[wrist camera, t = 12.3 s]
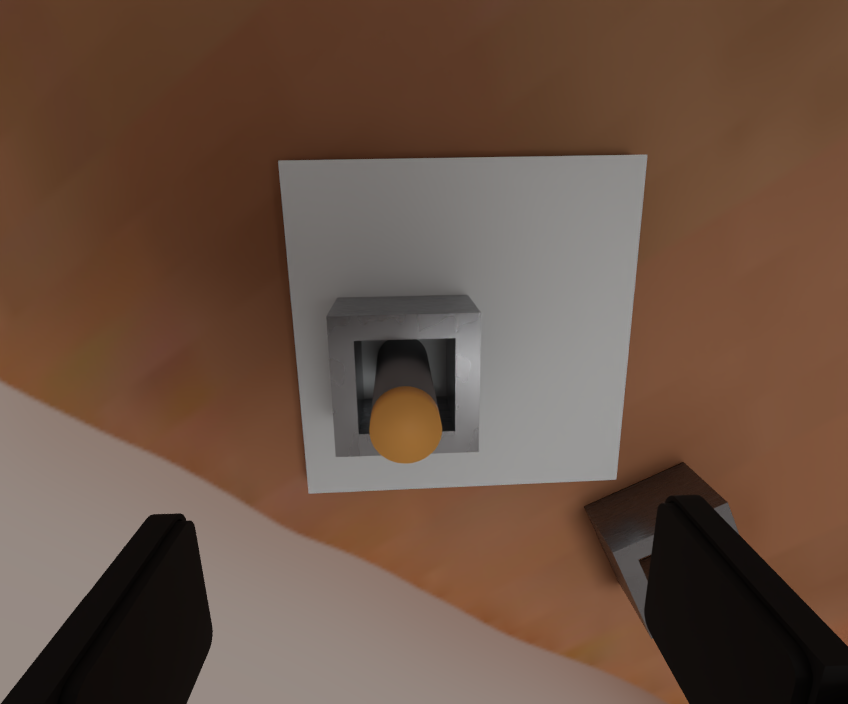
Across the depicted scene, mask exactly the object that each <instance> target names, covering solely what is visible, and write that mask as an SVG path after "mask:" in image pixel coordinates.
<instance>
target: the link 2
mask: <svg viewBox="0 0 848 704" xmlns="http://www.w3.org/2000/svg"><path fill="white" fill-rule="evenodd" d="M672 495H700V496H701V497H703V498H704V499H705V500H706V501H707V502H708V503H709V504H710V505H711V506H712V507H713V509H714V510H715V511H716V512H717V513H718V514H719V515H720V516H721V517H722V518H723V519H724V520H725V521H726V522H727V523H728V524H729V525H730V526H731V527H732V528H733V529H734V530H735V531H736V532H737V533H738V530H737V527H736V524H735V522H734V519H733V516H732V513H731V510H730V508H729V505H728V502H727V501H725V500H724V499H723V498H722V497H721V496H720V495H719V494H718V493H717V492H716V491H715V490H713V489H712V488H711V487H710V486H709V485H708V484H707V483H706V482H705V481H704V480H702V479H701V478H700V477H699V476H698V475H697V474H696V473H695V472H694V471H693V470H692V469H690V468H689V467H688V466H687V465H686V464H685V463H684V462H683V463H681V464H679V465H677V466H674V467H672V468H670V469H668V470H665V471H663V472H661V473H659V474H657V475H654V476H652V477H650V478H648V479H645V480H643V481H641V482H639V483H636V484H634V485H632V486H630V487H627V488H625V489H623V490H621V491H619V492H616V493H614V494H612V495H610V496H607V497H605V498H603V499H601V500H598V501H596V502H594V503H592V504H589V505H587V506H585V509H586V511H587V514H588V516H589V518H590V520H591V522H592V524H593V527H594V529H595V531H596V533H597V535H598V538H599V540H600V542H601V544H602V546H603V548H604V551H605V553H606V555H607V557H608V559H609V562H610V564H611V566H612V568H613V570H614V572H615V575H616V577H617V579H618V581H619V583H620V585H621V587H622V589H623V590H624V592H625V594H626V596H627V597H628V599H629V601H630V602H631V604H632V606H633V608H634V609H635V611H636V613H637V614H638V616H639V618H640V620H641V621H642V623H643V625H644V627H645V628H646V630H647V632H648V633H649V635H650V637H651V639H652V638H653V637H652V635H651V634H650V632H649V630H648V628H647V625H646V622H645V616H644V606H645V599H646V591H647V584H648V576H649V569H650V561H651V556H650V557H648V558H646V559H643V560H641V561H639V559H641V558H643V557H646V556H648V555H650V554H651V553H652V546H653V538H654V531H655V523H656V516H657V509H658V506H659V504H661V503H665V501H666V499H667V497H669V496H672ZM738 534H739V533H738Z"/></svg>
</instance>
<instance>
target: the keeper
mask: <svg viewBox="0 0 848 704" xmlns="http://www.w3.org/2000/svg"><path fill="white" fill-rule="evenodd" d="M278 165H279V176H280V187H281V198H282V209H283V220H284V230H285V241H286V252H287V263H288V274H289V285H290V295H291V306H292V317H293V328H294V339H295V350H296V361H297V371H298V382H299V393H300V404H301V415H302V426H303V437H304V447H305V458H306V469H307V480H308V491H309V493H332V492H354V491H376V490H398V489H420V488H442V487H464V486H487V485H509V484H531V483H553V482H575V481H597V480H616V477H617V466H618V456H619V446H620V435H621V425H622V414H623V404H624V394H625V383H626V373H627V362H628V352H629V342H630V331H631V321H632V310H633V300H634V290H635V279H636V269H637V259H638V248H639V238H640V227H641V217H642V207H643V196H644V186H645V175H646V165H647V155H594V156H532V157H470V158H407V159H345V160H283V161H278ZM428 295H468V296H469V297H470V298H471V300H472V301H473V302H474V304H475V305H476V306H477V308H478V309H479V310H480V312H481V353H480V407H479V452H463V453H436V454H431V453H432V452H433V451H434V450H435V449H436V447H437V446H438V444H439V442H440V439H441V435H442V424H441V419H440V414H439V409H438V405H437V400H436V396H446V338H443V339H405V340H366V341H361V344H362V365H363V386H364V399H373V401H372V410H371V419H370V428H369V433H370V439H371V442H372V444H373V446H374V448H375V449H376V450H377V452H378V453H379V454H380V455H382V456H354V457H336V454H335V439H334V424H333V409H332V395H331V380H330V365H329V350H328V335H327V320H326V316H327V314H328V313H329V311H330V309H331V307H332V306H333V304H334V302H335V301H336V299H337V298H338V297H383V296H428Z"/></svg>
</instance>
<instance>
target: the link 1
mask: <svg viewBox="0 0 848 704" xmlns="http://www.w3.org/2000/svg"><path fill="white" fill-rule="evenodd" d="M326 320H327V335H328V350H329V365H330V380H331V395H332V409H333V424H334V439H335V454H336V457H354V456H382V455H380V454H379V453H378V452H377V450H376V449H375V448H374V446H373V444H372V442H371V439H370V433H369V428H370V419H371V410H372V401H373V399H364V386H363V365H362V344H361V341H366V340H405V339H443V338H446V396H436V400H437V405H438V409H439V414H440V419H441V424H442V435H441V439H440V442H439V444H438V446H437V447H436V449H435V450H434V451H433V452H432V453H431V454H436V453H463V452H479V407H480V353H481V312H480V310H479V309H478V308H477V306H476V305H475V304H474V302H473V301H472V300H471V298H470V297H469V296H468V295H428V296H383V297H338V298H337V299H336V301H335V302H334V304H333V306H332V307H331V309H330V311H329V313H328V314H327V316H326Z"/></svg>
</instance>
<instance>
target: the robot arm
mask: <svg viewBox="0 0 848 704" xmlns="http://www.w3.org/2000/svg"><path fill="white" fill-rule="evenodd" d="M204 583H205V582H204V577H203V571H202V565H201V560H200V554H199V548H198V542H197V536H196V530H195V526H194V524H193V522H192V521H186V518H185V517H184V515H183V514H154V515H150V516H149V517H148V518H147V519H146V520H145V522H144V523H143V524H142V525H141V527H140V528H139V529H138V531H137V532H136V533H135V534H134V536H133V537H132V538H131V539H130V541H129V542H128V543H127V545H126V546H125V547H124V548H123V550H122V551H121V552H120V553H119V555H118V556H117V557H116V559H115V560H114V561H113V562H112V564H111V565H110V566H109V568H108V569H107V570H106V571H105V573H104V574H103V575H102V576H101V578H100V579H99V580H98V581H97V583H96V584H95V585H94V587H93V588H92V589H91V590H90V592H89V593H88V594H87V595H86V596H85V597H84V599H83V600H82V601H81V602H80V604H79V605H78V606H77V607H76V609H75V610H74V611H73V613H72V614H71V615H70V616H69V618H68V619H67V620H66V621H65V623H64V624H63V625H62V627H61V628H60V629H59V630H58V632H57V633H56V634H55V635H54V637H53V638H52V639H51V641H50V642H49V643H48V644H47V646H46V647H45V648H44V649H43V651H42V652H41V653H40V655H39V656H38V657H37V658H36V660H35V661H34V662H33V663H32V665H31V666H30V667H29V668H28V670H27V671H26V672H25V674H24V675H23V676H22V678H21V679H20V680H19V681H18V683H17V684H16V685H15V686H14V688H13V689H12V690H11V691H10V693H9V694H8V695H7V697H6V698H5V699H4V700H3V702H2V703H1V704H187V701H188V699H189V697H190V694H191V692H192V689H193V687H194V685H195V682H196V680H197V678H198V675H199V673H200V671H201V668H202V666H203V663H204V661H205V659H206V656H207V654H208V652H209V649H210V646H211V642H212V632H213V631H212V623H211V618H210V611H209V606H208V600H207V594H206V588H205V584H204ZM644 616H645V622H646V625H647V628H648V630H649V632H650V634H651V635H652V637H653V639H654V641H655V643H656V644H657V646H658V648H659V650H660V652H661V653H662V655H663V657H664V659H665V661H666V662H667V664H668V666H669V668H670V670H671V671H672V673H673V675H674V677H675V679H676V680H677V682H678V684H679V686H680V688H681V689H682V691H683V693H684V695H685V697H686V698H687V700H688V702H689V704H848V646H847V645H846V644H845V643H844V642H843V641H842V640H841V639H840V638H839V637H838V636H837V635H836V634H835V633H834V632H833V631H832V630H831V629H830V628H829V627H828V626H827V625H826V624H825V623H824V622H823V621H822V619H821V618H820V617H819V616H818V615H817V614H816V613H815V612H814V611H813V610H812V609H811V608H810V607H809V606H808V605H807V604H806V603H805V602H804V601H803V600H802V599H801V598H800V597H799V596H798V595H797V594H796V593H795V592H794V591H793V590H792V589H791V588H790V587H789V586H788V585H787V584H786V582H785V581H784V580H783V579H782V578H781V577H780V576H779V575H778V574H777V573H776V572H775V571H774V570H773V569H772V568H771V567H770V566H769V565H768V564H767V563H766V562H765V561H764V560H763V559H762V558H761V557H760V556H759V555H758V554H757V553H756V552H755V551H754V550H753V549H752V548H751V547H750V545H749V544H748V543H747V542H746V541H745V540H744V539H743V538H742V537H741V536H740V535H739V534H738V533H737V532H736V531H735V530H734V529H733V528H732V527H731V526H730V525H729V524H728V523H727V522H726V521H725V520H724V519H723V518H722V517H721V516H720V515H719V514H718V513H717V512H716V511H715V510H714V509H713V507H712V506H711V505H710V504H709V503H708V502H707V501H706V500H705V499H704V498H703V497H701V496H700V495H672V496H669V497H667V499H666V501H665V503H661V504H659V506H658V509H657V516H656V523H655V531H654V538H653V546H652V553H651V561H650V569H649V576H648V584H647V591H646V599H645V606H644Z"/></svg>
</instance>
